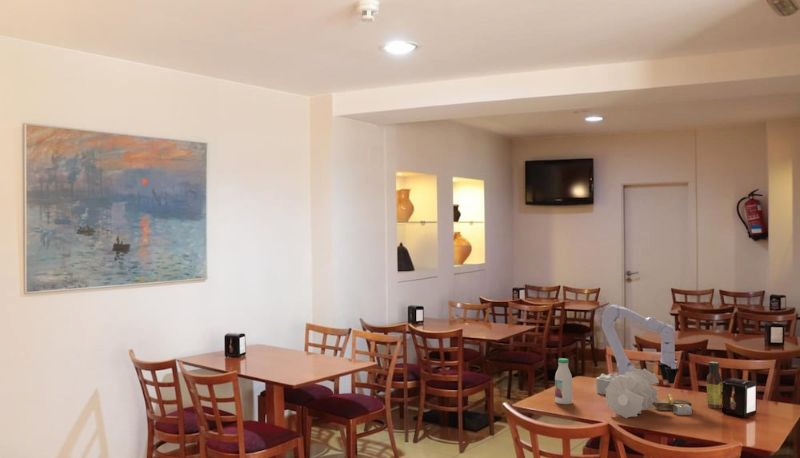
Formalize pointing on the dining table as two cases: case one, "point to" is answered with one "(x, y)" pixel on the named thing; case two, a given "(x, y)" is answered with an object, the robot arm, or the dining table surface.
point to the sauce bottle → (714, 386)
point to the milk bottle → (563, 383)
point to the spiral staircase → (631, 392)
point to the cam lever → (670, 400)
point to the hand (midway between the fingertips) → (668, 381)
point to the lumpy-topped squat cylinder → (603, 382)
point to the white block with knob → (682, 409)
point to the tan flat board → (666, 406)
